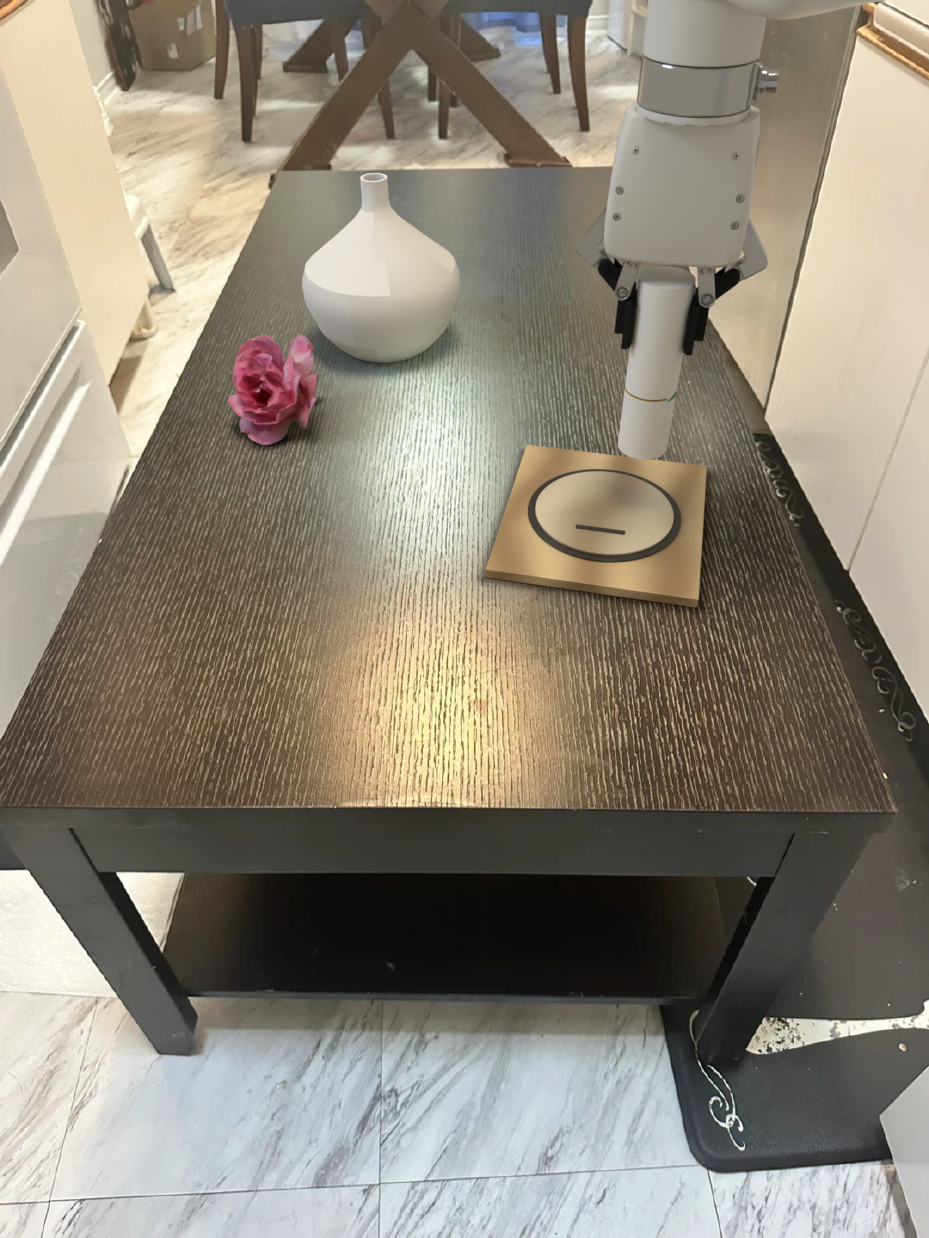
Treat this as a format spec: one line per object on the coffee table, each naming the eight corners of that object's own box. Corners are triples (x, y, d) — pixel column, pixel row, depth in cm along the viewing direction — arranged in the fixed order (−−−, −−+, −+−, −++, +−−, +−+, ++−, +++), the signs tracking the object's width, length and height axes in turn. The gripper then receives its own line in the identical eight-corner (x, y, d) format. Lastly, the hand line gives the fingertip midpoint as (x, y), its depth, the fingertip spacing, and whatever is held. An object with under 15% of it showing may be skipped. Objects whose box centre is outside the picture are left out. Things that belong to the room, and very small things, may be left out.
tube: (636, 464, 76) (661, 293, 66) (608, 440, 79) (627, 273, 68) (676, 451, 77) (707, 282, 67) (647, 428, 80) (672, 262, 70)
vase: (491, 346, 108) (494, 178, 95) (371, 398, 99) (355, 221, 86) (398, 299, 118) (388, 141, 105) (281, 342, 109) (254, 176, 96)
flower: (275, 479, 93) (202, 413, 87) (272, 436, 101) (205, 373, 95) (356, 412, 91) (287, 339, 85) (347, 373, 98) (283, 304, 92)
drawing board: (705, 474, 88) (708, 461, 87) (696, 608, 74) (699, 595, 73) (526, 452, 91) (526, 440, 90) (485, 577, 77) (485, 564, 76)
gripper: (824, 79, 60) (764, 334, 73) (577, 69, 63) (560, 315, 76) (831, 108, 55) (765, 378, 67) (561, 96, 58) (546, 356, 70)
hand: (657, 342), depth 71 cm, fingers closed on tube, 4 cm apart
